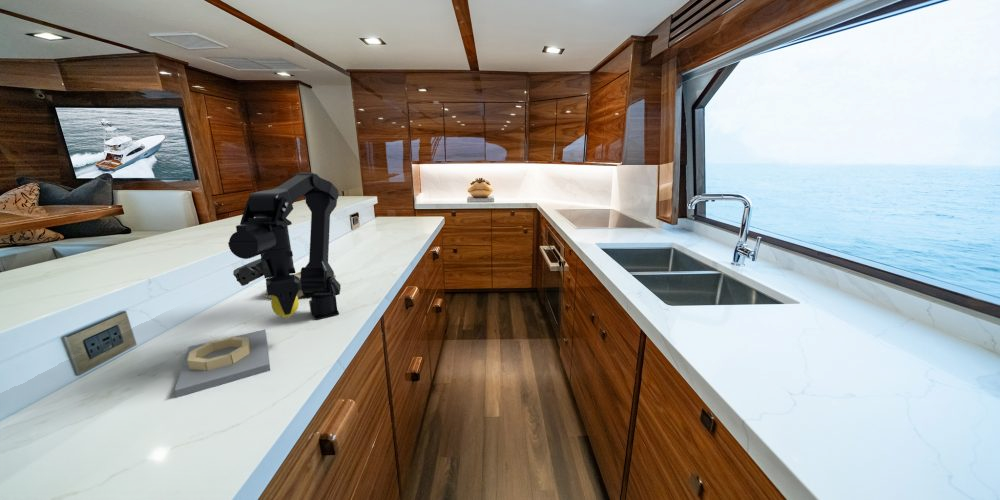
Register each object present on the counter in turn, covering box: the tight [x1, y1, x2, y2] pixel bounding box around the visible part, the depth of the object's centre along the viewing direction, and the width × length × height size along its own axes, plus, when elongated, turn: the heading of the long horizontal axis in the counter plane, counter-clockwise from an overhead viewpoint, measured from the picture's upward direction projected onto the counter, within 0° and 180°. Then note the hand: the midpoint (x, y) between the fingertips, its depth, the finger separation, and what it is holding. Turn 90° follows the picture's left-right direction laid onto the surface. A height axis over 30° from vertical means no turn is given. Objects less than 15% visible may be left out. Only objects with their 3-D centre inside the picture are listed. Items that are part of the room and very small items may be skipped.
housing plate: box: [174, 328, 271, 398], centre depth 76 cm, size 15×20×4 cm
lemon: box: [270, 295, 300, 319], centre depth 81 cm, size 6×6×8 cm
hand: (286, 310), depth 81 cm, fingers closed on lemon, 5 cm apart
